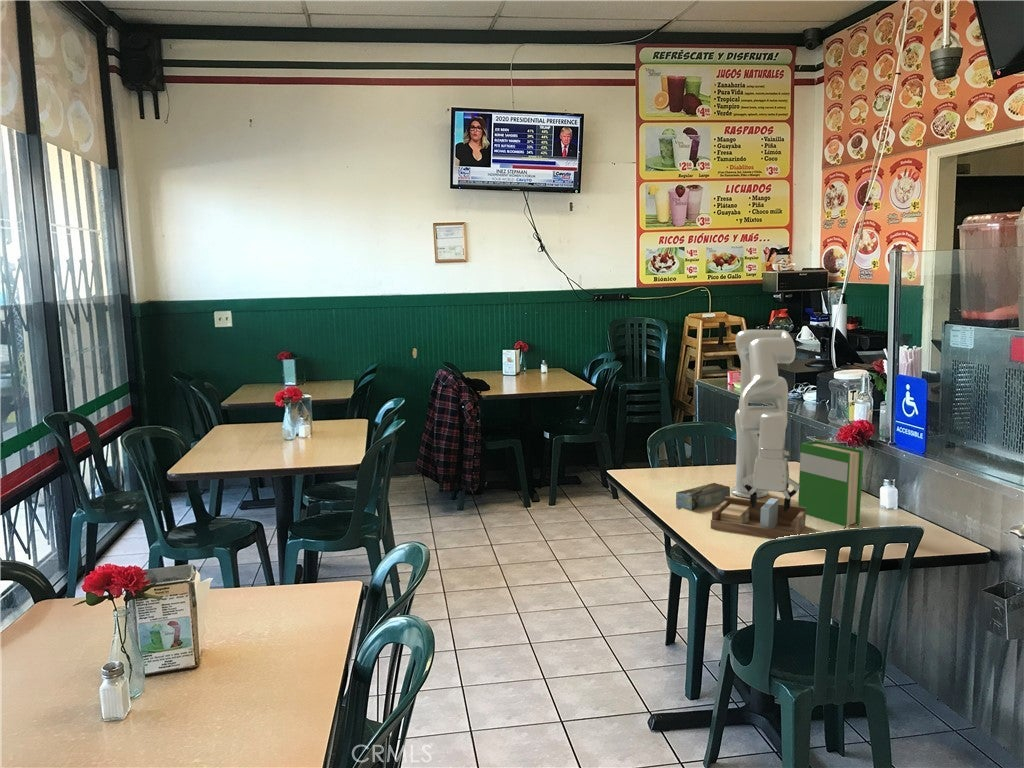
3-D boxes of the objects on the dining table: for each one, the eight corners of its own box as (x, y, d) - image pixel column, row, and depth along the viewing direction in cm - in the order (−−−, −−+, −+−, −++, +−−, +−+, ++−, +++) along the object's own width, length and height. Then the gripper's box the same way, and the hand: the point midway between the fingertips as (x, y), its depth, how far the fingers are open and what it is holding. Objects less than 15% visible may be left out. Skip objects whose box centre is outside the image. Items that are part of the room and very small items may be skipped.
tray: (725, 517, 273) (725, 496, 272) (805, 528, 261) (806, 507, 260) (710, 531, 260) (711, 509, 259) (793, 544, 247) (794, 521, 246)
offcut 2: (730, 512, 270) (730, 508, 270) (749, 515, 267) (749, 510, 267) (720, 522, 260) (720, 517, 260) (739, 525, 257) (739, 520, 257)
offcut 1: (730, 508, 270) (730, 503, 269) (749, 510, 267) (749, 506, 266) (720, 517, 260) (720, 512, 260) (739, 520, 257) (740, 515, 257)
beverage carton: (674, 508, 284) (674, 489, 283) (713, 499, 295) (714, 480, 294) (691, 514, 278) (692, 495, 277) (731, 504, 288) (731, 485, 287)
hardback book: (859, 524, 264) (863, 450, 261) (844, 529, 260) (848, 453, 257) (812, 511, 279) (815, 440, 276) (797, 514, 275) (800, 443, 272)
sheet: (769, 522, 264) (770, 498, 263) (777, 523, 263) (778, 499, 262) (759, 533, 254) (760, 508, 253) (767, 534, 253) (768, 509, 252)
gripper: (803, 454, 254) (801, 509, 256) (746, 448, 262) (744, 501, 265) (798, 458, 247) (796, 515, 250) (739, 453, 256) (738, 507, 258)
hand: (769, 508), depth 257 cm, fingers open, 9 cm apart
